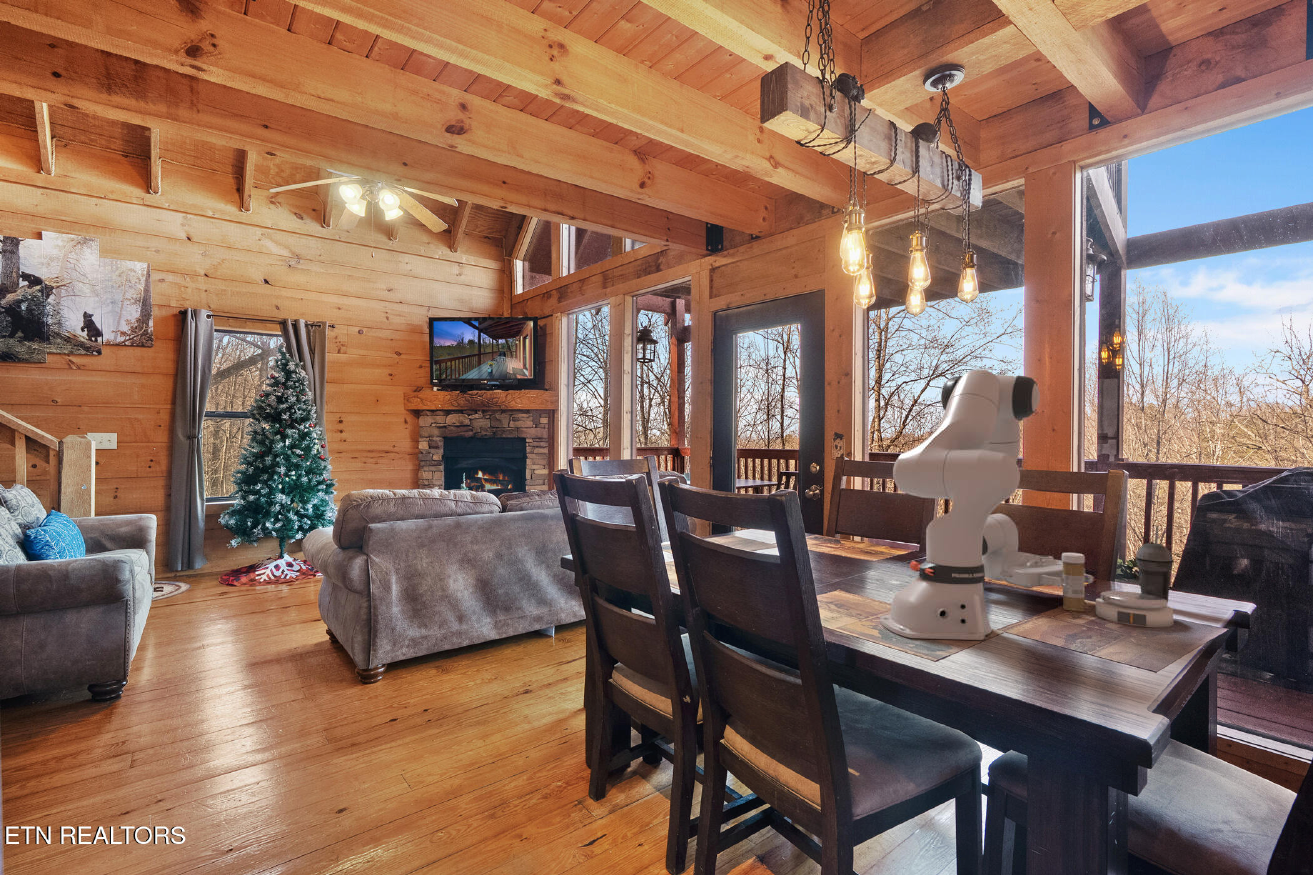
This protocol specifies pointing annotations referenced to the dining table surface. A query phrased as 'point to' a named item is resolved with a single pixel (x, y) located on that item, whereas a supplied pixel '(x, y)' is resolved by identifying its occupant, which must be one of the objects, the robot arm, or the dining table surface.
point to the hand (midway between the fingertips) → (1076, 581)
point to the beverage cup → (1154, 568)
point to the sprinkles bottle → (1073, 582)
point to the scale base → (1134, 615)
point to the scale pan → (1134, 600)
